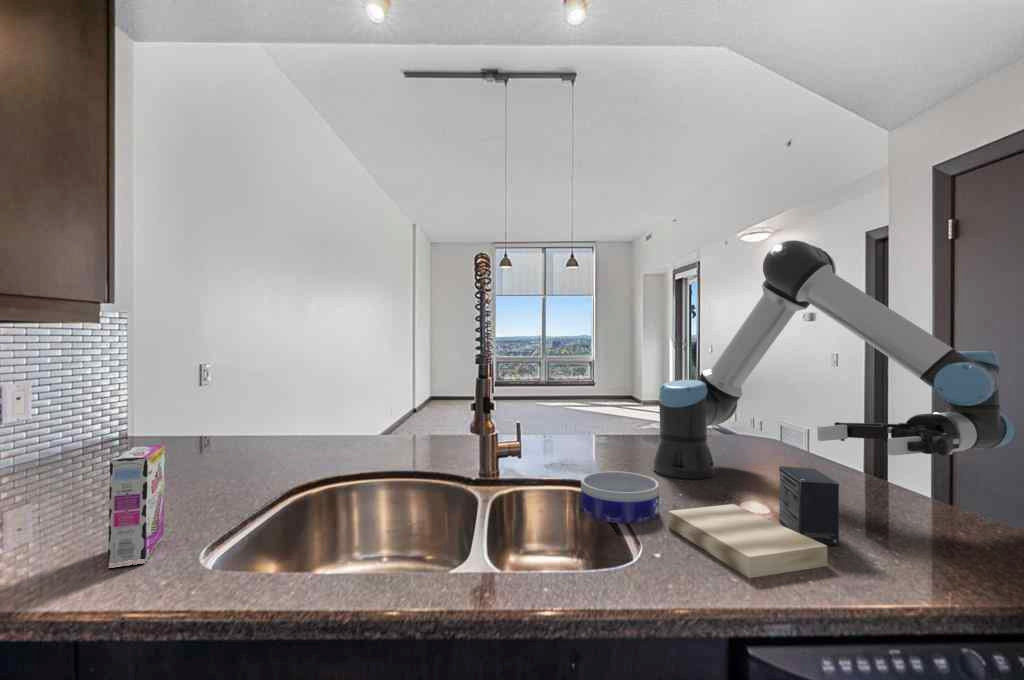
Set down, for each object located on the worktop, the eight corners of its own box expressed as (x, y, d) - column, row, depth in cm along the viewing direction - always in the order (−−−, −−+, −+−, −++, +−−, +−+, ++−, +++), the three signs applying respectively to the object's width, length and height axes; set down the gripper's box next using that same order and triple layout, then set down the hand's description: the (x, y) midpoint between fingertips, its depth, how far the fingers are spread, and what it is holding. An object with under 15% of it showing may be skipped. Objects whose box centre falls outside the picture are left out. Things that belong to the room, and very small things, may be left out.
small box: (842, 547, 80) (841, 482, 80) (798, 544, 81) (798, 480, 81) (816, 523, 90) (815, 467, 90) (777, 521, 92) (777, 465, 92)
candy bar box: (147, 564, 75) (147, 457, 75) (106, 571, 73) (106, 460, 73) (166, 538, 85) (166, 443, 85) (130, 542, 83) (131, 446, 83)
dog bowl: (657, 529, 89) (657, 495, 89) (574, 519, 93) (574, 488, 94) (660, 503, 103) (660, 474, 103) (588, 496, 108) (588, 468, 108)
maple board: (668, 527, 89) (668, 511, 89) (733, 519, 92) (733, 503, 92) (749, 578, 69) (749, 557, 69) (827, 566, 73) (827, 545, 73)
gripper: (1020, 467, 82) (927, 478, 76) (874, 440, 106) (795, 447, 100) (1019, 422, 82) (926, 429, 76) (873, 406, 106) (794, 410, 100)
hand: (851, 439), depth 88 cm, fingers open, 13 cm apart
